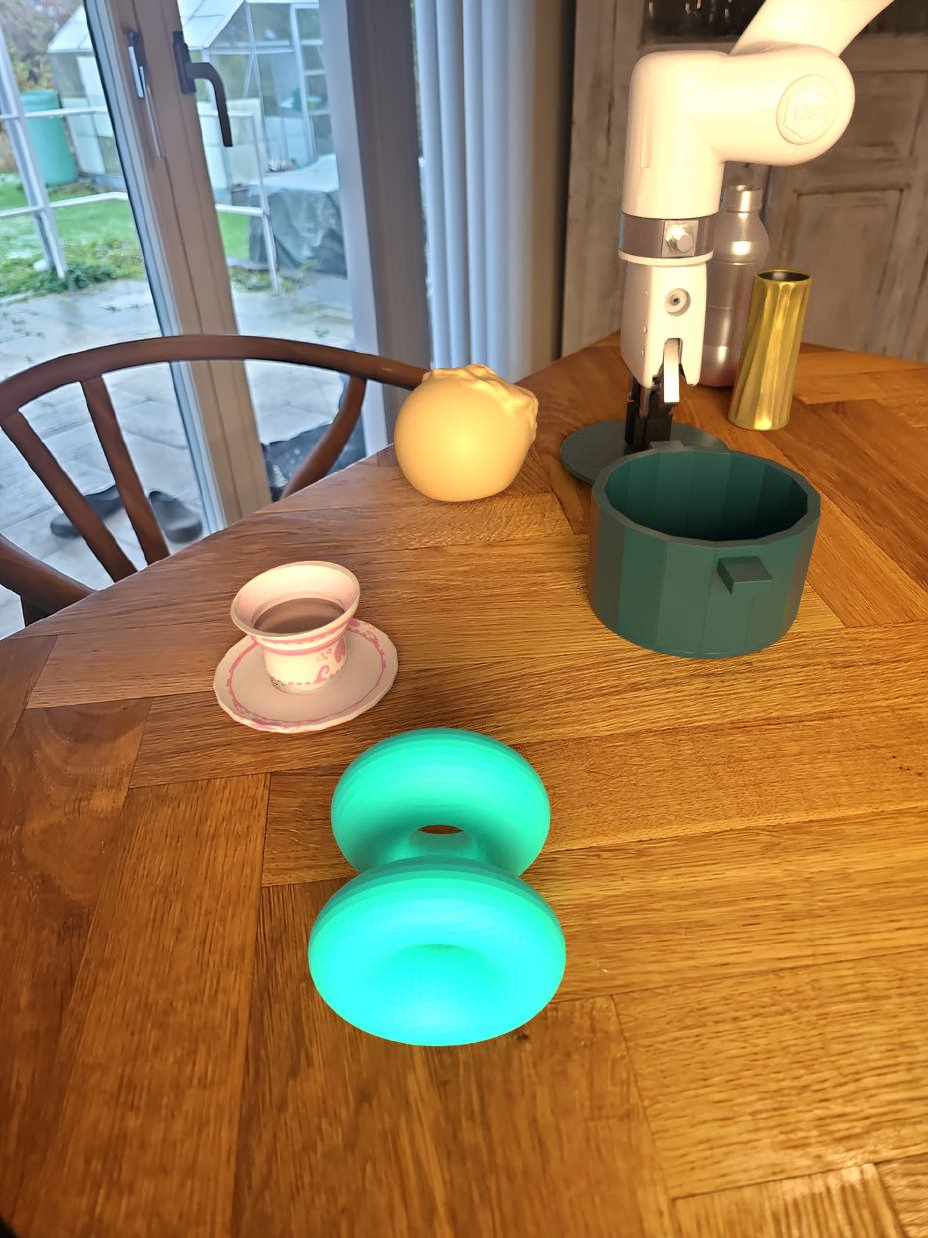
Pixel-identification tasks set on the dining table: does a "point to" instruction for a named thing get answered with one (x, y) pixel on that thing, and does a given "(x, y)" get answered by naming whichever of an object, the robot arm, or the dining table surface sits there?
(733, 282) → the plastic bottle
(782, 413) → the vase
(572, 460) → the pot lid
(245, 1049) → the dining table surface
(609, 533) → the pot
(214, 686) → the teacup
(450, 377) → the sculpture
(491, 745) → the turquoise spool
